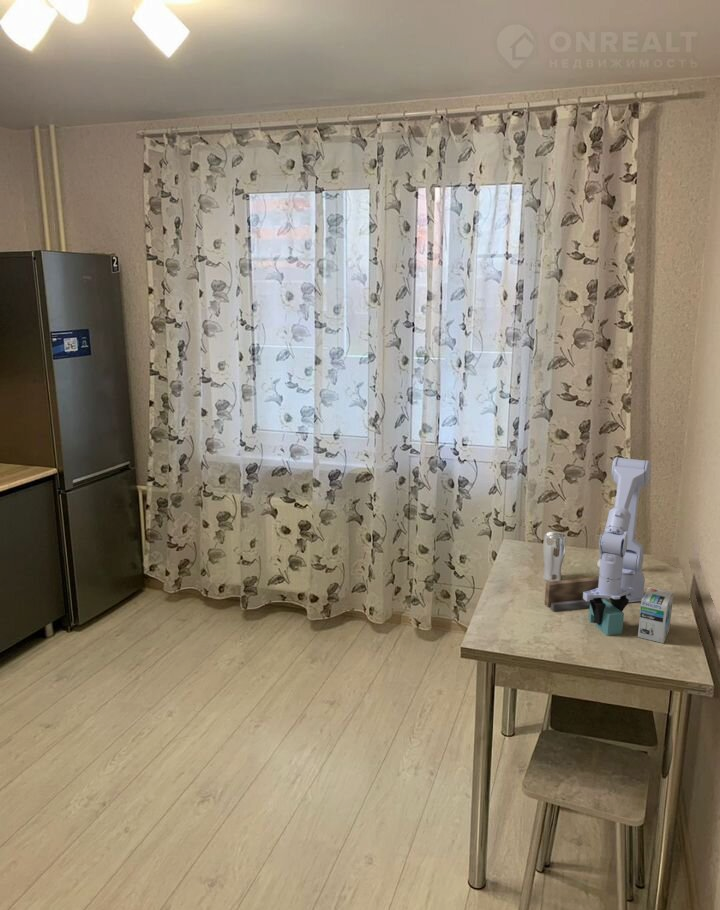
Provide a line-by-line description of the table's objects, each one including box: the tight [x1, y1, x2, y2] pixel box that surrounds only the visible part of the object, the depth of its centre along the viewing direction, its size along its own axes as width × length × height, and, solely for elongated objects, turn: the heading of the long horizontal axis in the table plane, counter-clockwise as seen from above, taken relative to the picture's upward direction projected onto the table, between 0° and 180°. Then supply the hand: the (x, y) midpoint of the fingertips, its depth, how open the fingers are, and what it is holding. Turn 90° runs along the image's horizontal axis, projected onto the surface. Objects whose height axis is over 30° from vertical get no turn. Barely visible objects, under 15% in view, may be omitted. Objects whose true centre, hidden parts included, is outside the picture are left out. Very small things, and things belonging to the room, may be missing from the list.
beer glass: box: [541, 530, 567, 582], centre depth 220 cm, size 7×7×15 cm
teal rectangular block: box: [588, 599, 625, 636], centre depth 188 cm, size 4×9×6 cm, turn 14°
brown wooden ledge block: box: [544, 576, 610, 613], centre depth 202 cm, size 18×5×7 cm, turn 104°
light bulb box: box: [637, 586, 674, 644], centre depth 185 cm, size 11×7×11 cm, turn 148°
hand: (606, 622), depth 188 cm, fingers closed on teal rectangular block, 4 cm apart
